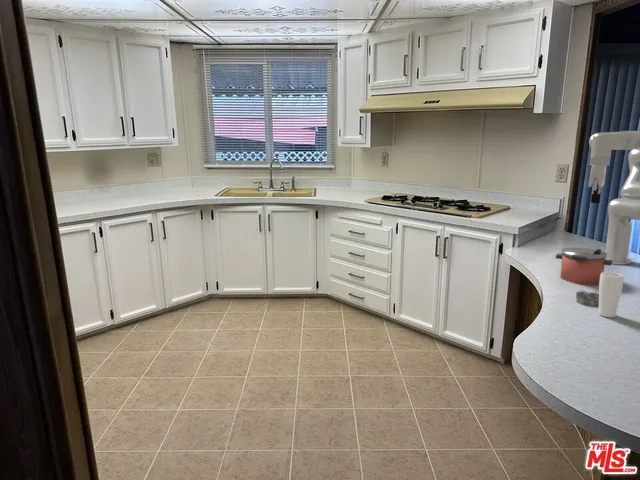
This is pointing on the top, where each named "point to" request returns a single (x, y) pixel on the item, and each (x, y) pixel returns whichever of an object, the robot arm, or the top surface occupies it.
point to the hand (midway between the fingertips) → (595, 202)
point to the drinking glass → (609, 293)
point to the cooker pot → (582, 269)
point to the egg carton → (587, 298)
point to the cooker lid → (584, 253)
